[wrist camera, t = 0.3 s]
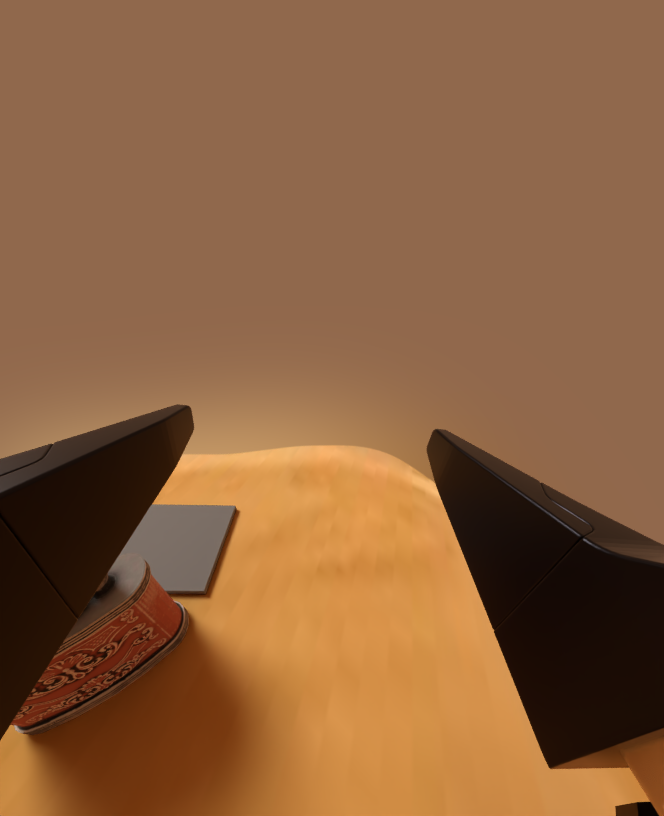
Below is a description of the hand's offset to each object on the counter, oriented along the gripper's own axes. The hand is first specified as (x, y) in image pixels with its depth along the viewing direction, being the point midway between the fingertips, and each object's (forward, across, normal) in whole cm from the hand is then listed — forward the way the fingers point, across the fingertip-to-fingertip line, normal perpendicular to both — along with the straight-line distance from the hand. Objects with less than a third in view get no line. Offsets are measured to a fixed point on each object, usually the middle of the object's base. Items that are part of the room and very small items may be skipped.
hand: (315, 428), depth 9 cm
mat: (+6, +13, +17) cm, 22 cm away
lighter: (-1, +11, +18) cm, 21 cm away
